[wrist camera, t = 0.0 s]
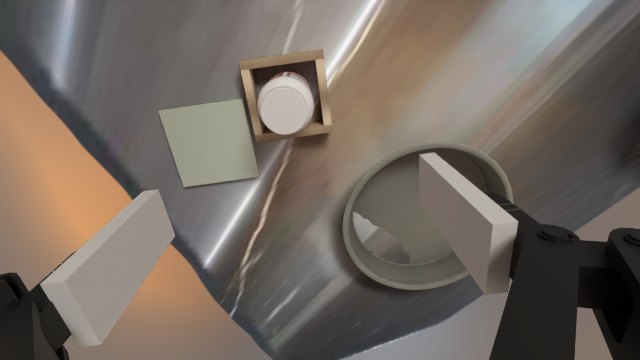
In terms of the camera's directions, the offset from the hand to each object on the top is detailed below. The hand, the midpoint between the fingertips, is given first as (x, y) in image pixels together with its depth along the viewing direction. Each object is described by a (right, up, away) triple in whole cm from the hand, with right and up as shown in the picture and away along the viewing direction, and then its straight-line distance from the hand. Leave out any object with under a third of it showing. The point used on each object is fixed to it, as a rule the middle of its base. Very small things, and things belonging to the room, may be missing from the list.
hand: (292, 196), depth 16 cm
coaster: (-13, +6, +27) cm, 31 cm away
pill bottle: (-3, +12, +25) cm, 28 cm away
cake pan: (+17, -4, +33) cm, 38 cm away
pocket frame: (-3, +12, +25) cm, 28 cm away
